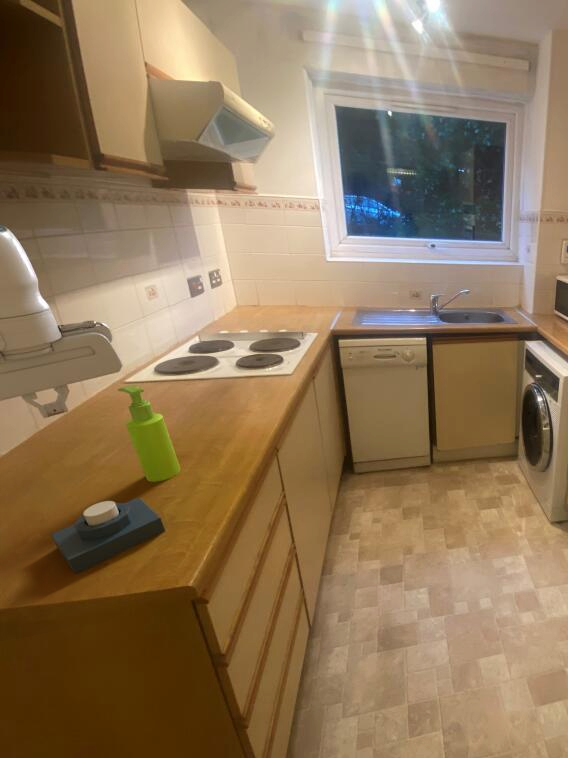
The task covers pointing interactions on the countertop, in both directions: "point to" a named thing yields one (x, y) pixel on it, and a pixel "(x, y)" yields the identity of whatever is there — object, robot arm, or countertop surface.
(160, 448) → the soap dispenser
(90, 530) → the button housing
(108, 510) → the button
